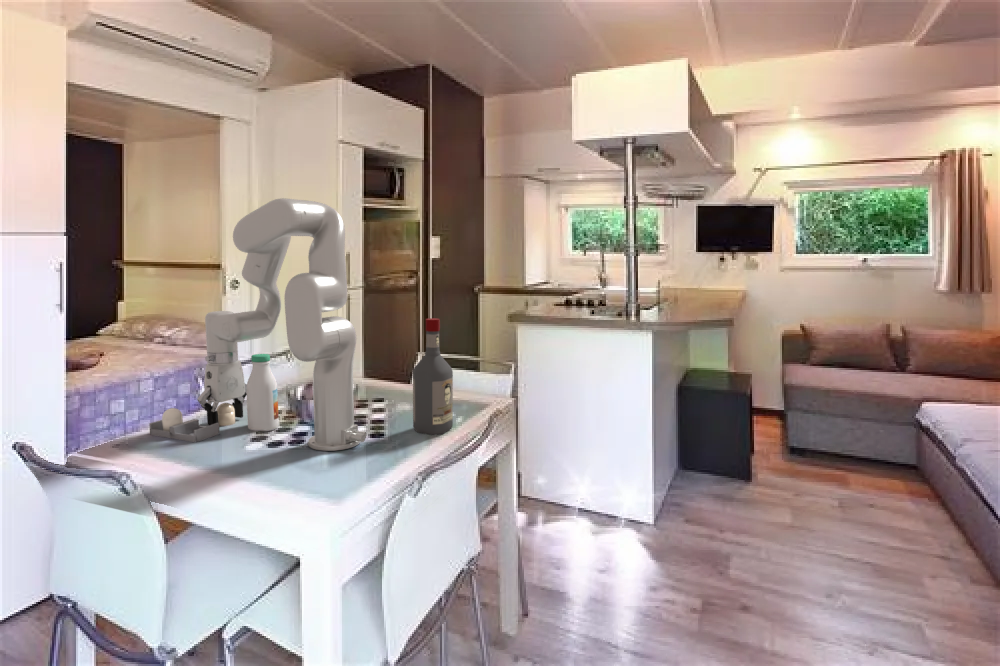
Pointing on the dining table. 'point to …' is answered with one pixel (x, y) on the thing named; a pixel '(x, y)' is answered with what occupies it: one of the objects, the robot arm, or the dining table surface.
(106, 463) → the dining table surface
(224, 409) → the tan egg
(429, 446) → the dining table surface
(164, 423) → the cream egg
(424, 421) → the liquor
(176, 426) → the egg carton
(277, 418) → the milk bottle
